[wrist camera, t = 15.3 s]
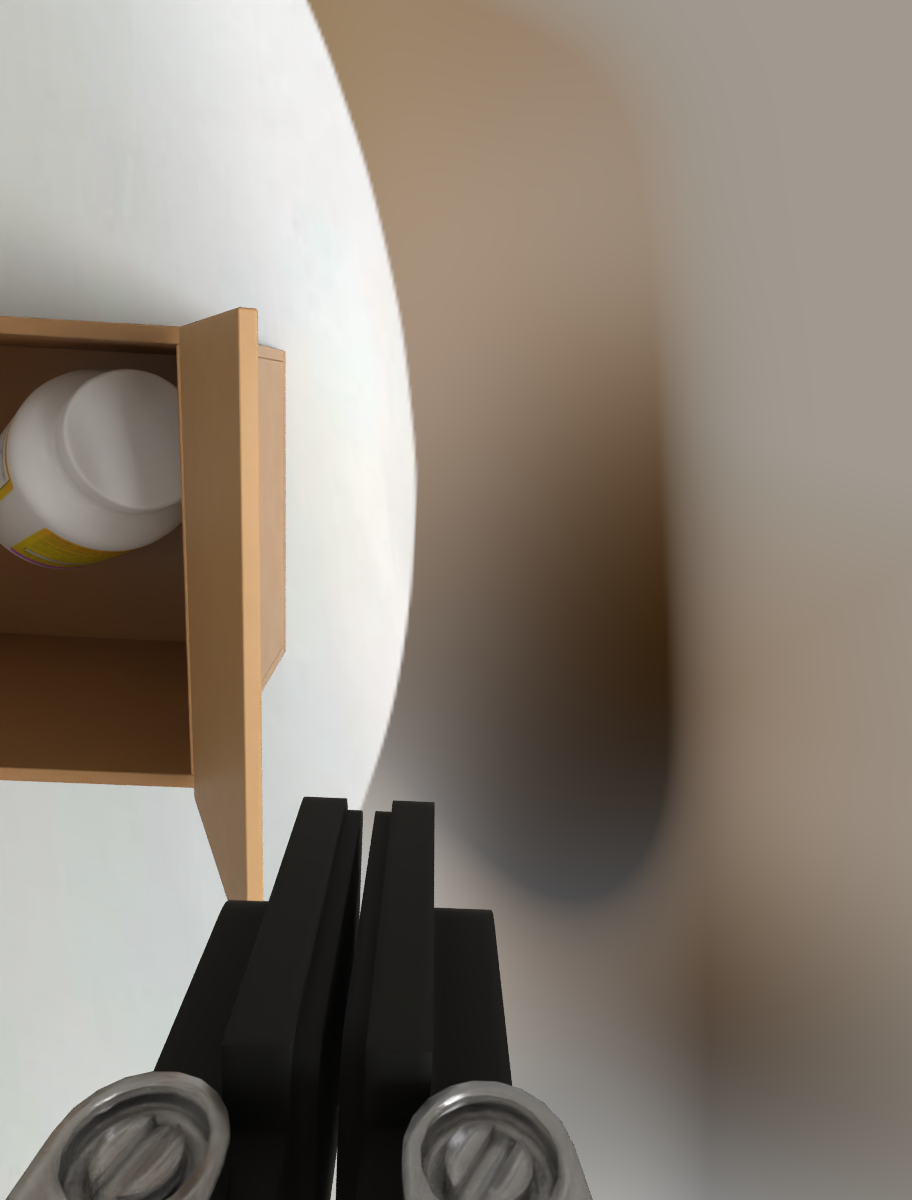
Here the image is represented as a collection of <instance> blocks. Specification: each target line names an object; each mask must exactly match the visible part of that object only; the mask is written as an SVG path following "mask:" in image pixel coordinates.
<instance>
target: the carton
mask: <svg viewBox="0 0 912 1200" xmlns="http://www.w3.org/2000/svg"><path fill="white" fill-rule="evenodd" d="M83 369H107V370H119V369H134V370H142V371H146V372H149V373H152V374H155V375H158V376H160V377H162V378H164V379H166V380H167V381H169V382H171V383H172V384H174V385H175V386H176V387H177V389H178V418H179V447H180V476H181V505H182V522H181V523H180V524H179V525H178V526H177V527H176V528H175V529H174V530H173V531H171V532H170V533H169V534H167V535H166V536H164V537H163V538H161V539H159V540H157V541H155V542H153V543H152V544H149V545H146V546H144V547H141V548H138V549H135V550H132V551H130V552H127V553H124V554H121V555H119V556H115V557H113V558H110V559H107V560H104V561H101V562H98V563H96V564H93V565H89V566H86V567H81V568H74V569H53V568H47V567H42V566H39V565H36V564H33V563H30V562H28V561H25V560H23V559H21V558H19V557H18V556H16V555H14V554H13V553H11V552H10V551H9V550H7V549H6V548H5V547H4V546H3V545H1V544H0V780H13V781H39V782H64V783H89V784H114V785H139V786H164V787H189V788H194V766H193V736H192V706H191V677H190V647H189V617H188V587H187V557H186V528H185V498H184V468H183V438H182V409H181V379H180V349H179V326H162V325H145V324H128V323H112V322H95V321H78V320H62V319H45V318H28V317H11V316H0V434H1V433H2V432H3V430H4V429H5V428H6V426H7V425H8V424H9V422H10V421H11V419H12V418H13V417H14V415H15V414H16V412H17V411H18V409H19V408H20V407H21V405H22V404H23V402H24V401H25V400H26V399H27V398H28V397H29V396H30V394H31V393H33V392H34V391H35V390H36V389H37V388H39V387H40V386H41V385H43V384H44V383H46V382H47V381H49V380H51V379H53V378H55V377H58V376H60V375H63V374H65V373H68V372H72V371H77V370H83ZM258 394H259V506H260V618H261V692H262V691H263V689H264V687H265V685H266V684H267V682H268V680H269V679H270V677H271V675H272V674H273V672H274V670H275V668H276V667H277V665H278V663H279V662H280V660H281V658H282V657H283V655H284V653H285V351H282V350H278V349H274V348H270V347H266V346H262V345H258Z"/></svg>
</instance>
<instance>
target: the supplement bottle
mask: <svg viewBox="0 0 912 1200" xmlns="http://www.w3.org/2000/svg"><path fill="white" fill-rule="evenodd" d="M181 522H182V505H181V476H180V447H179V418H178V389H177V387H176V386H175V385H174V384H172V383H171V382H169V381H167V380H166V379H164V378H162V377H160V376H158V375H155V374H152V373H149V372H146V371H142V370H134V369H119V370H107V369H83V370H77V371H72V372H68V373H65V374H63V375H60V376H58V377H55V378H53V379H51V380H49V381H47V382H46V383H44V384H43V385H41V386H40V387H39V388H37V389H36V390H35V391H34V392H33V393H31V394H30V396H29V397H28V398H27V399H26V400H25V401H24V402H23V404H22V405H21V407H20V408H19V409H18V411H17V412H16V414H15V415H14V417H13V418H12V419H11V421H10V422H9V424H8V425H7V426H6V428H5V429H4V430H3V432H2V433H1V434H0V544H1V545H3V546H4V547H5V548H6V549H7V550H9V551H10V552H11V553H13V554H14V555H16V556H18V557H19V558H21V559H23V560H25V561H28V562H30V563H33V564H36V565H39V566H42V567H47V568H53V569H74V568H81V567H86V566H89V565H93V564H96V563H98V562H101V561H104V560H107V559H110V558H113V557H115V556H119V555H121V554H124V553H127V552H130V551H132V550H135V549H138V548H141V547H144V546H146V545H149V544H152V543H153V542H155V541H157V540H159V539H161V538H163V537H164V536H166V535H167V534H169V533H170V532H171V531H173V530H174V529H175V528H176V527H177V526H178V525H179V524H180V523H181Z"/></svg>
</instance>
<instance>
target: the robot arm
mask: <svg viewBox="0 0 912 1200" xmlns="http://www.w3.org/2000/svg"><path fill="white" fill-rule="evenodd" d="M362 827H363V812H362V811H360V810H348V805H347V799H346V798H323V797H304V798H303V800H302V803H301V806H300V809H299V812H298V815H297V818H296V821H295V824H294V827H293V830H292V833H291V836H290V839H289V842H288V845H287V848H286V851H285V854H284V857H283V860H282V863H281V866H280V869H279V872H278V875H277V878H276V881H275V884H274V887H273V890H272V893H271V896H270V899H269V901H244V900H228V901H227V902H226V903H225V904H224V906H223V908H222V910H221V912H220V914H219V916H218V919H217V921H216V924H215V926H214V928H213V931H212V933H211V936H210V938H209V940H208V943H207V945H206V947H205V950H204V952H203V955H202V957H201V959H200V962H199V964H198V966H197V969H196V971H195V974H194V976H193V978H192V981H191V983H190V986H189V988H188V990H187V993H186V995H185V997H184V1000H183V1002H182V1005H181V1007H180V1009H179V1012H178V1014H177V1016H176V1019H175V1021H174V1024H173V1026H172V1028H171V1031H170V1033H169V1036H168V1038H167V1040H166V1043H165V1045H164V1047H163V1050H162V1052H161V1055H160V1057H159V1059H158V1062H157V1064H156V1066H155V1069H154V1071H152V1072H148V1073H143V1074H139V1075H134V1076H130V1077H125V1078H123V1079H121V1080H119V1081H117V1082H114V1083H112V1084H110V1085H108V1086H106V1087H104V1088H101V1089H99V1090H98V1091H96V1092H95V1093H93V1094H92V1095H91V1096H89V1097H88V1098H87V1099H85V1100H84V1101H82V1102H81V1103H80V1104H78V1105H77V1106H76V1107H74V1108H73V1109H72V1110H71V1111H70V1113H69V1114H68V1115H67V1116H66V1117H65V1118H64V1119H63V1120H62V1122H61V1123H60V1124H59V1125H58V1126H57V1127H56V1128H55V1130H54V1131H53V1132H52V1133H51V1135H50V1136H49V1138H48V1139H47V1141H46V1142H45V1143H44V1145H43V1146H42V1148H41V1149H40V1151H39V1152H38V1154H37V1155H36V1156H35V1158H34V1159H33V1161H32V1162H31V1164H30V1165H29V1167H28V1168H27V1169H26V1171H25V1172H24V1174H23V1175H22V1177H21V1178H20V1179H19V1181H18V1182H17V1184H16V1185H15V1187H14V1188H13V1190H12V1191H11V1192H10V1194H9V1195H8V1197H7V1198H6V1200H330V1198H331V1190H332V1183H333V1175H334V1168H335V1160H336V1153H337V1179H336V1200H592V1196H591V1194H590V1191H589V1188H588V1185H587V1182H586V1179H585V1176H584V1173H583V1170H582V1168H581V1164H580V1162H579V1159H578V1156H577V1153H576V1150H575V1147H574V1144H573V1142H572V1141H571V1139H570V1137H569V1135H568V1133H567V1131H566V1129H565V1127H564V1125H563V1123H562V1121H561V1120H560V1119H559V1118H558V1117H557V1116H556V1115H555V1114H554V1113H553V1112H552V1111H551V1110H550V1109H549V1108H548V1107H547V1105H546V1104H545V1103H543V1102H542V1101H540V1100H539V1099H537V1098H535V1097H534V1096H532V1095H531V1094H529V1093H527V1092H526V1091H524V1090H522V1089H520V1088H517V1087H513V1086H512V1081H511V1071H510V1062H509V1053H508V1044H507V1035H506V1025H505V1016H504V1007H503V999H502V989H501V980H500V971H499V961H498V953H497V944H496V934H495V925H494V919H493V913H492V911H491V910H480V909H453V908H434V802H415V801H393V804H392V812H382V811H376V812H375V818H374V824H373V831H372V838H371V846H370V851H369V859H368V865H367V872H366V878H365V885H364V892H363V899H362V906H361V912H360V911H359V910H360V884H361V883H360V882H361V855H362ZM359 913H360V919H359Z"/></svg>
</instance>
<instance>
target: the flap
mask: <svg viewBox="0 0 912 1200" xmlns="http://www.w3.org/2000/svg"><path fill="white" fill-rule="evenodd" d="M179 349H180V379H181V409H182V438H183V468H184V498H185V528H186V557H187V587H188V617H189V647H190V677H191V706H192V736H193V766H194V796H195V801H196V804H197V807H198V810H199V813H200V816H201V819H202V822H203V825H204V828H205V832H206V835H207V838H208V841H209V844H210V847H211V850H212V853H213V856H214V859H215V862H216V865H217V869H218V872H219V875H220V878H221V881H222V884H223V887H224V890H225V893H226V896H227V899H228V900H244V901H263V842H262V730H261V618H260V506H259V394H258V311H257V309H253V308H242V307H239V308H236V309H233V310H230V311H227V312H224V313H220V314H217V315H214V316H211V317H208V318H205V319H202V320H199V321H196V322H193V323H190V324H187V325H184V326H181V327H179Z"/></svg>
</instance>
